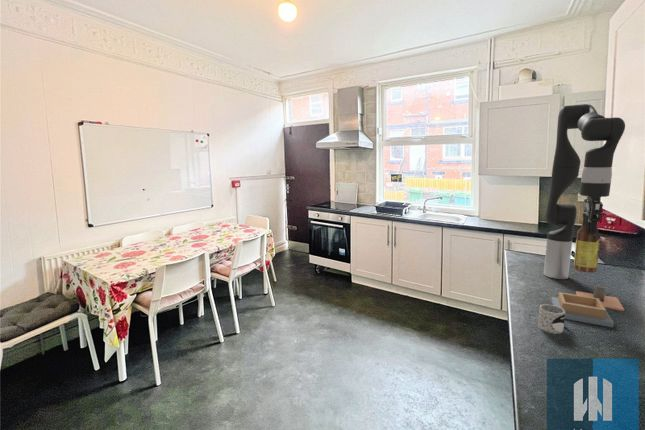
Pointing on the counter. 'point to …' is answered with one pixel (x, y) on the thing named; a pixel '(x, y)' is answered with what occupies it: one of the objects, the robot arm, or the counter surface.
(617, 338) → the counter surface
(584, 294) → the lid
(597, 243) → the sauce bottle
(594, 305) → the socket stand
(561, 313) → the mug
